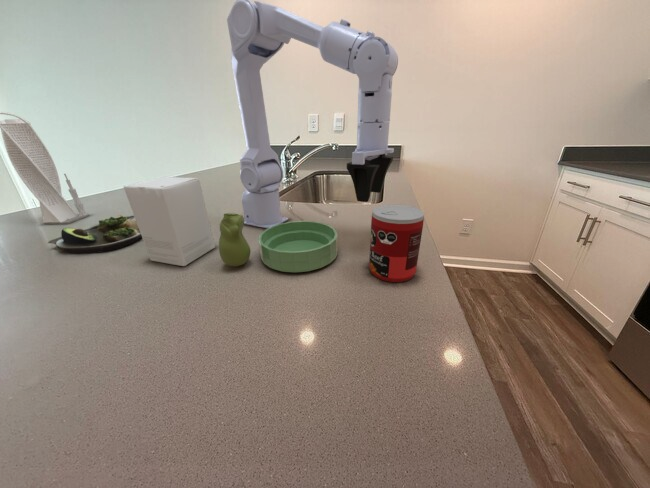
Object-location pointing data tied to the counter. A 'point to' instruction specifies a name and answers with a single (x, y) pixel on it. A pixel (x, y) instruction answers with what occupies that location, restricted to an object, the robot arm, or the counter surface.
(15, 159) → the skyscraper
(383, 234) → the canned food
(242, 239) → the pear
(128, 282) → the counter surface
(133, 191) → the white product box
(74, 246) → the salad plate
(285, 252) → the bowl
